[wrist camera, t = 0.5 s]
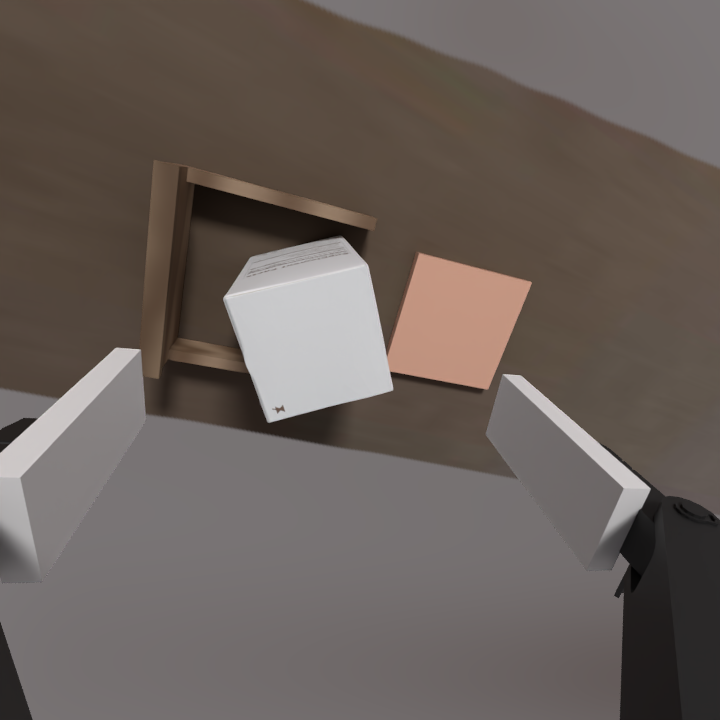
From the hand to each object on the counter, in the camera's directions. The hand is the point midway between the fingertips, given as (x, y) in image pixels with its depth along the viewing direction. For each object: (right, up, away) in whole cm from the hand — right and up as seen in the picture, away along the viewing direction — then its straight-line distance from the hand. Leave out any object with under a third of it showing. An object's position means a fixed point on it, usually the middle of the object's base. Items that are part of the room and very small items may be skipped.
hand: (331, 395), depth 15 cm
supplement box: (-4, +8, +24) cm, 26 cm away
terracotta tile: (+11, +5, +27) cm, 30 cm away
